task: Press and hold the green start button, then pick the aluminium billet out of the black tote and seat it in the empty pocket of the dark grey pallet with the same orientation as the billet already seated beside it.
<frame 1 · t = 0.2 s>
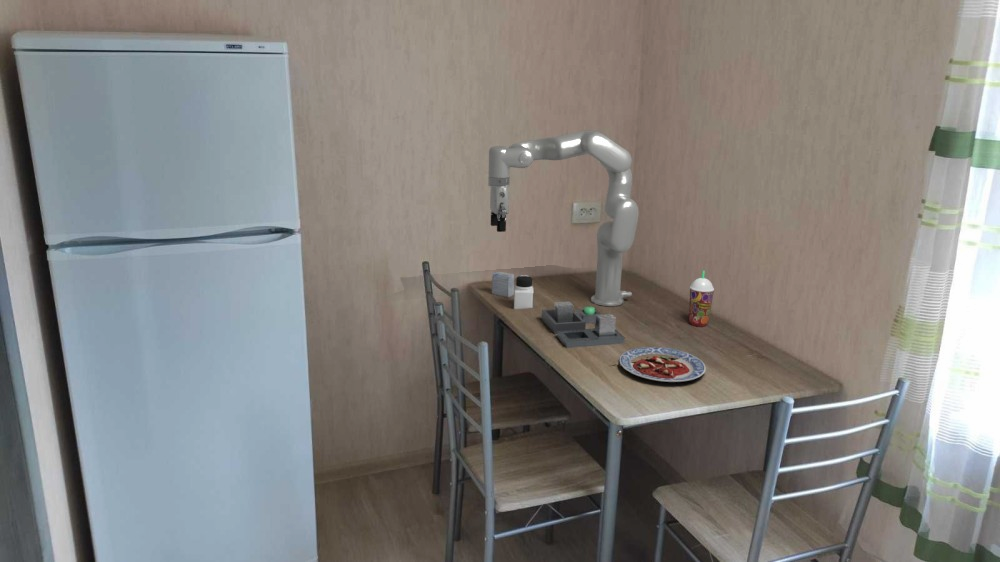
hand: (498, 228, 261), 31 cm above the table, tool pointing down, fingers open, 9 cm apart
tote: (562, 327, 252), on the table
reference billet: (604, 338, 240), point 1 cm above the table, touching pallet
smoothie: (698, 324, 259), on the table
billet: (562, 325, 252), point 1 cm above the table, touching tote
medicine box: (502, 295, 287), on the table
pallet: (590, 342, 239), on the table
start button: (589, 312, 257), point 4 cm above the table, slide at 0.0 cm
ceramic plate: (661, 370, 220), on the table
medicine bottle: (523, 307, 273), on the table
button housing: (588, 322, 258), on the table
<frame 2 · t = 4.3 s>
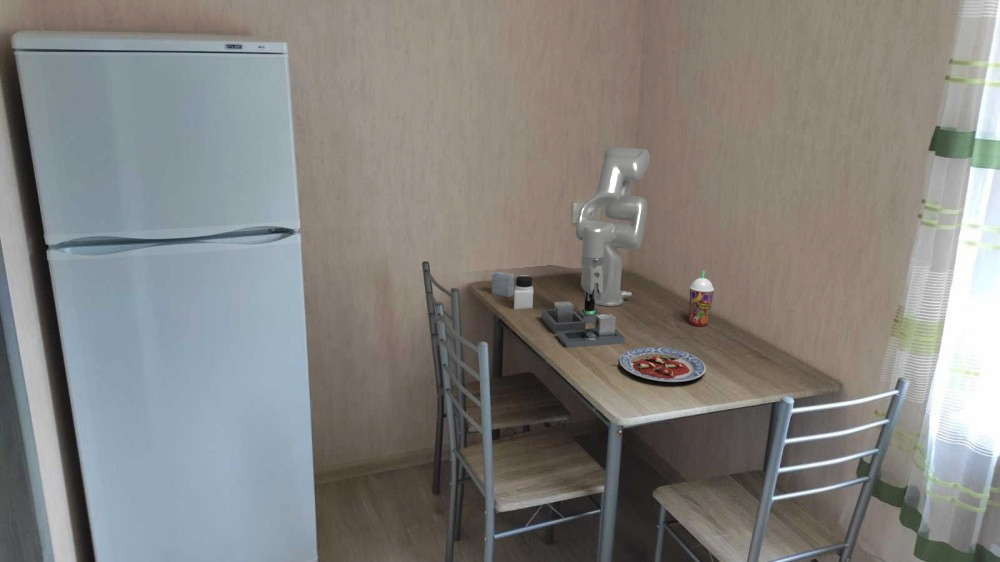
hand: (589, 310, 256), 5 cm above the table, tool pointing down, fingers closed
start button: (589, 314, 257), point 3 cm above the table, slide at 0.9 cm, touching gripper
everything else where it was.
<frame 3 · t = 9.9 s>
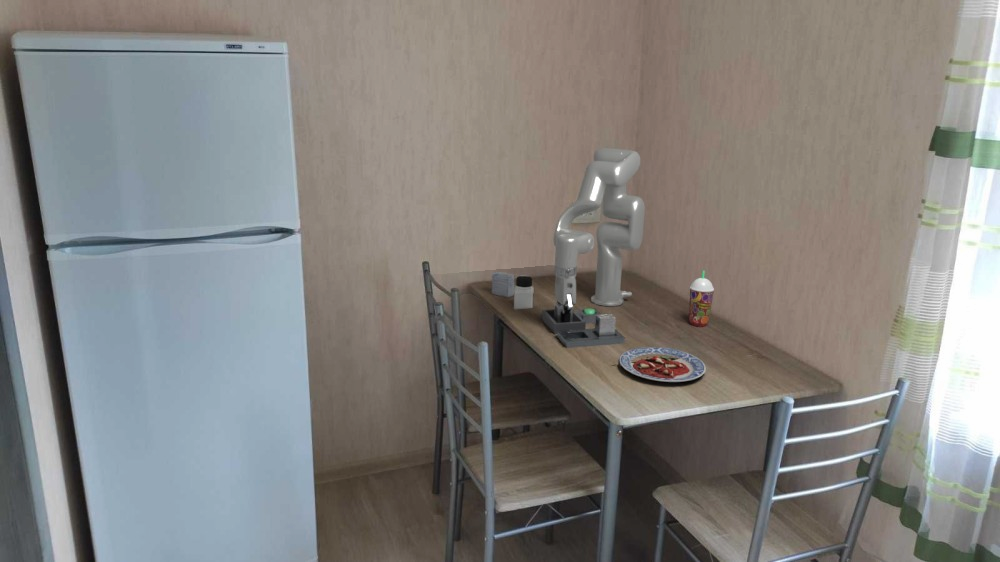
hand: (563, 320, 251), 3 cm above the table, tool pointing down, fingers closed on billet, 4 cm apart
billet: (562, 325, 252), point 1 cm above the table, touching gripper, tote
start button: (589, 314, 257), point 3 cm above the table, slide at 0.7 cm
everything else where it was.
when the fingers open (4 cm above the table, at t = 15.7 s): billet drops 1 cm, resting on pallet.
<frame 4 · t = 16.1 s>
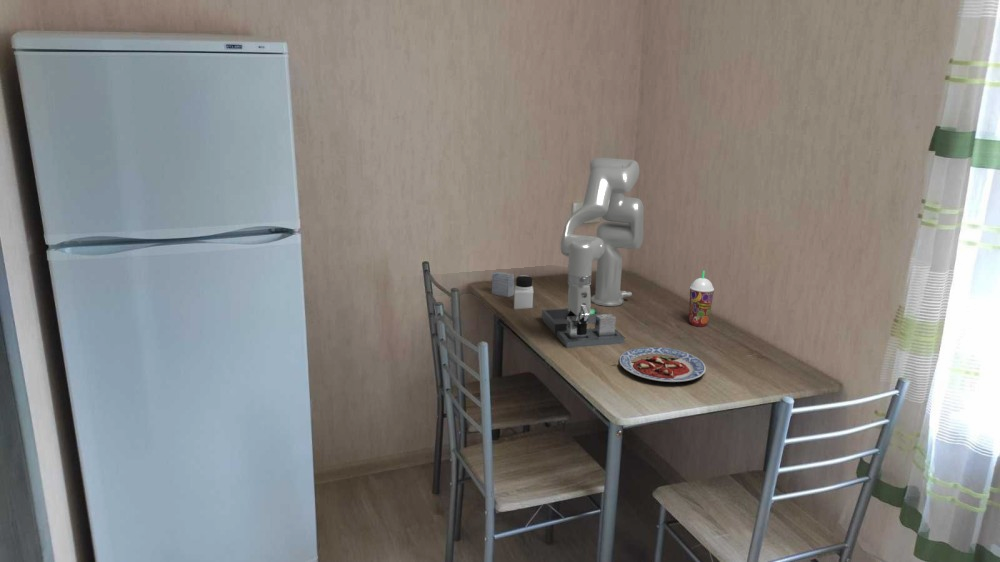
hand: (576, 329, 237), 5 cm above the table, tool pointing down, fingers open, 8 cm apart
billet: (575, 340, 238), point 1 cm above the table, touching pallet
everything else where it was.
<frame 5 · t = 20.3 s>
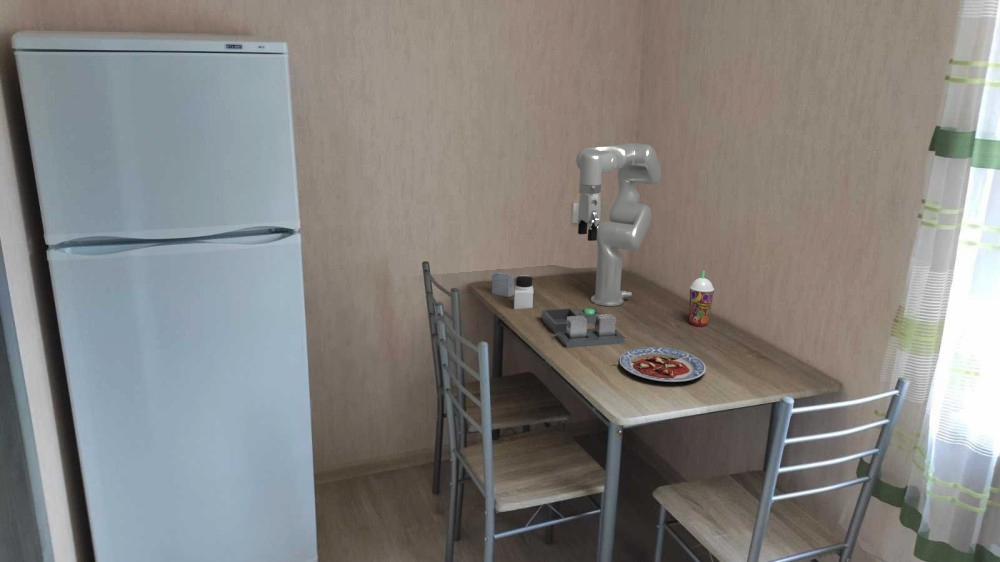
hand: (587, 237, 254), 30 cm above the table, tool pointing down, fingers open, 9 cm apart
nothing on the table moved.
at the end: billet 0.2 cm from the target spot on the pallet, point 1.0 cm above the pallet's base; billet tilted 0°; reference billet moved 0.0 cm from its start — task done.
